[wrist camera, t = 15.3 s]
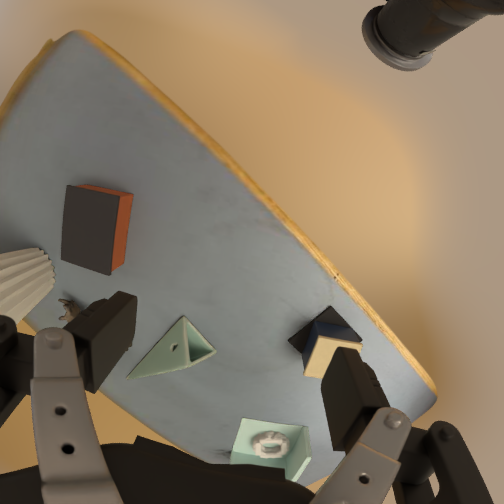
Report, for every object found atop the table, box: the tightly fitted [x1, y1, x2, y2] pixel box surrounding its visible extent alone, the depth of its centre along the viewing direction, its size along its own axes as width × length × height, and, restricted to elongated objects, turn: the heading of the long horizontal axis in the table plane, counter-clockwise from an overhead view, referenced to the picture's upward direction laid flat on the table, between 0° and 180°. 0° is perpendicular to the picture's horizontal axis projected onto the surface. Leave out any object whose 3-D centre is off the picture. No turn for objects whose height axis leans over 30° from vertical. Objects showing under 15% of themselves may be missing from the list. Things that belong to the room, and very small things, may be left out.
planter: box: [127, 316, 217, 380], centre depth 44 cm, size 8×6×18 cm
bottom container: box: [61, 185, 133, 276], centre depth 37 cm, size 10×8×5 cm
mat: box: [288, 306, 362, 354], centre depth 42 cm, size 8×8×1 cm
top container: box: [302, 321, 363, 379], centre depth 39 cm, size 6×6×5 cm
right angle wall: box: [230, 418, 312, 482], centre depth 45 cm, size 12×12×8 cm
